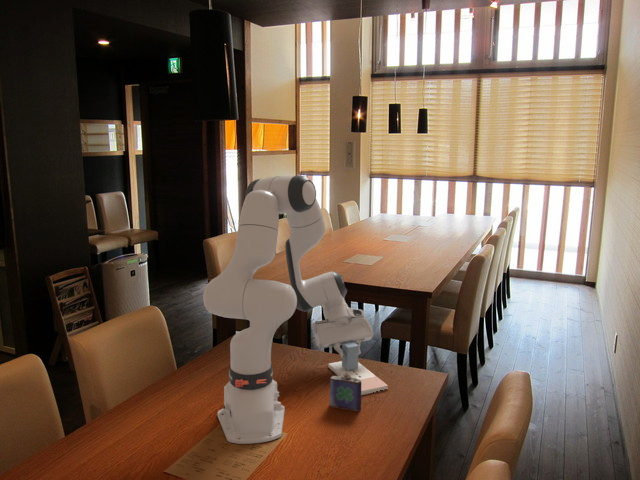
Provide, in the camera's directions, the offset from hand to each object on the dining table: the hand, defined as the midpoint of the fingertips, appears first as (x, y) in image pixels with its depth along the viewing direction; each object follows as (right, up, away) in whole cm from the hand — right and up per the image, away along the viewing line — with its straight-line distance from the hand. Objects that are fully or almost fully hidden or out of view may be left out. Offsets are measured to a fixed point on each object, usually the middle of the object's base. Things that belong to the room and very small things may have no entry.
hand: (351, 355), depth 176 cm
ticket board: (+2, -7, -3) cm, 7 cm away
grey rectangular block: (0, -4, +1) cm, 4 cm away
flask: (-3, -11, -21) cm, 24 cm away
